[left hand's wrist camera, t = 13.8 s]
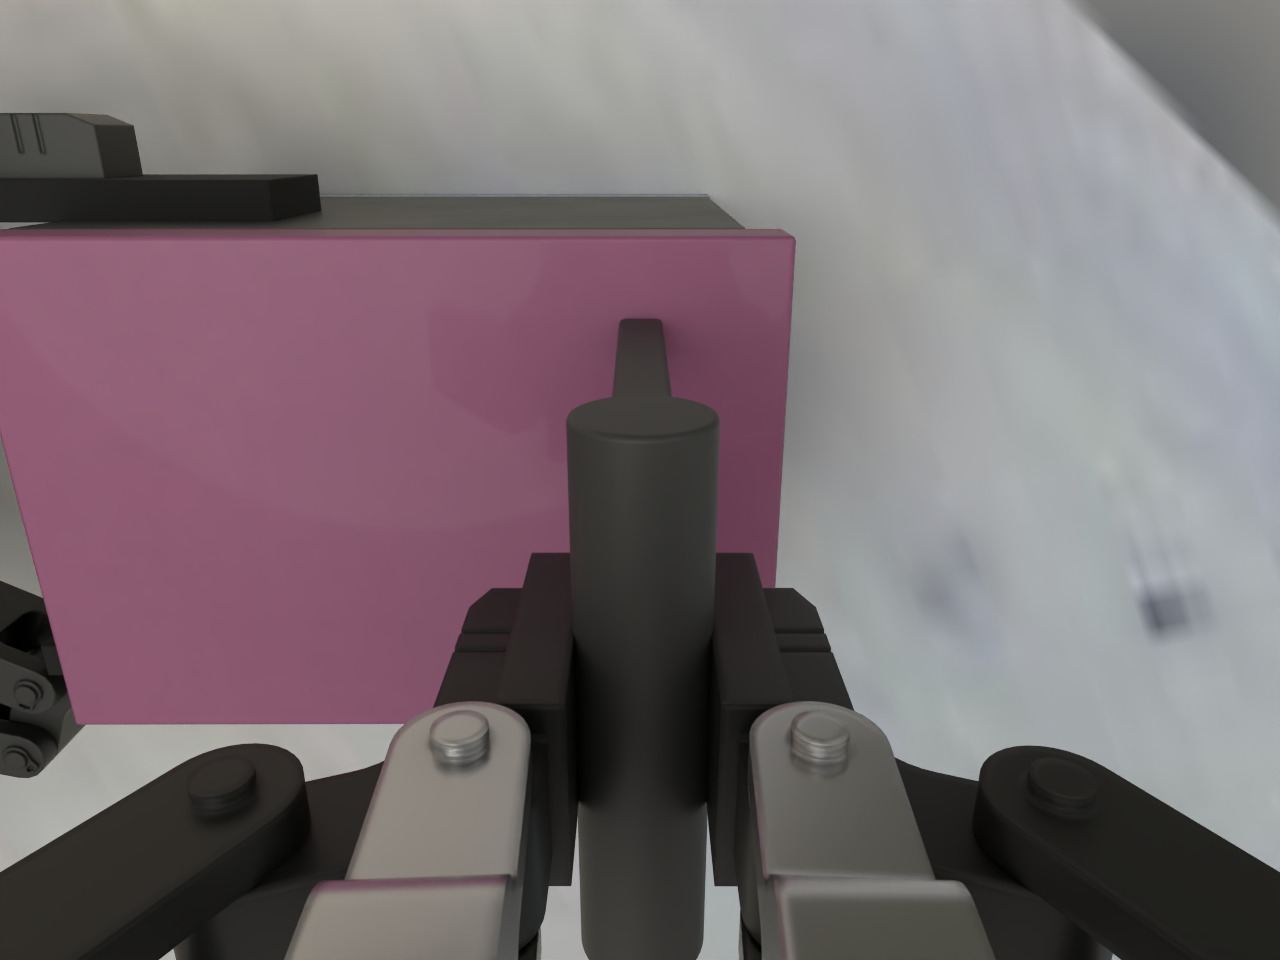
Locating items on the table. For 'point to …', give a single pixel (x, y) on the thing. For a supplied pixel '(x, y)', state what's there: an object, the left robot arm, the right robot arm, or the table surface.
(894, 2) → the table surface
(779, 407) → the lid
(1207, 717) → the table surface
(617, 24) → the table surface
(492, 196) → the chest
